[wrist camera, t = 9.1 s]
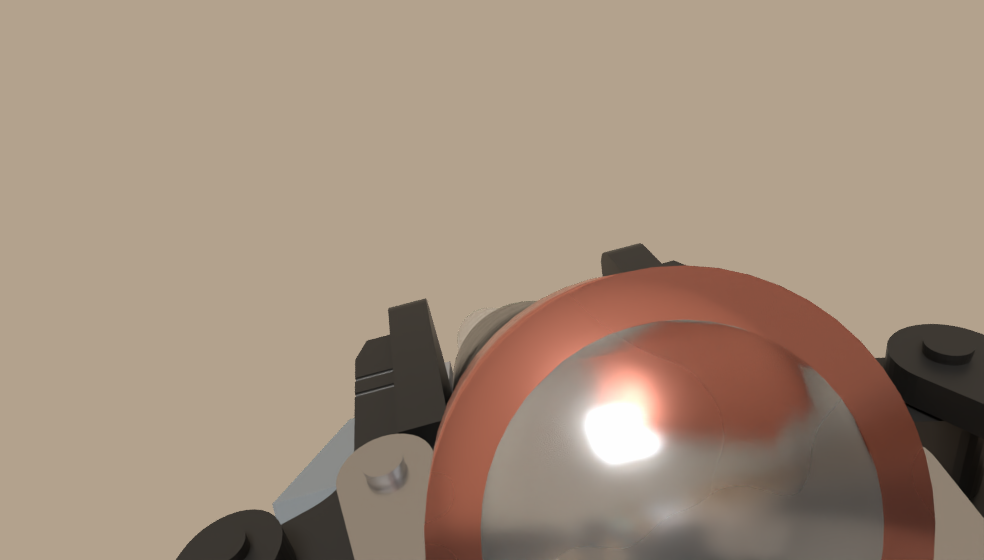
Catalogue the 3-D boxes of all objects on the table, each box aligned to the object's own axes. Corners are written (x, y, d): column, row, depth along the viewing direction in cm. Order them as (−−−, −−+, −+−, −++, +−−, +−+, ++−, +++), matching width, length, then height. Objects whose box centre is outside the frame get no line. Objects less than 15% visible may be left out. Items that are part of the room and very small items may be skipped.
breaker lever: (993, 706, 5) (858, 211, 5) (499, 867, 4) (367, 338, 4) (538, 368, 30) (517, 290, 30) (459, 389, 29) (440, 310, 29)
